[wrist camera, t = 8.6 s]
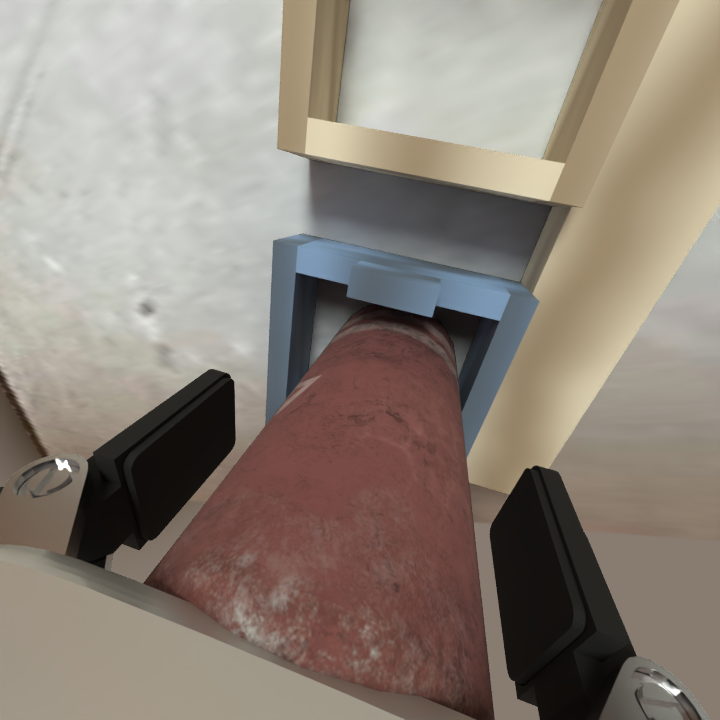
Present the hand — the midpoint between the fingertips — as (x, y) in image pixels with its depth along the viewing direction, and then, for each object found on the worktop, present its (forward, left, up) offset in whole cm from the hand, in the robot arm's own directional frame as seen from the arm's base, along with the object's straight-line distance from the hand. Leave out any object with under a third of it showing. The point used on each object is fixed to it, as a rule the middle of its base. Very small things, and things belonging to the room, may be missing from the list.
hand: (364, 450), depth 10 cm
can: (0, 0, -8) cm, 8 cm away
